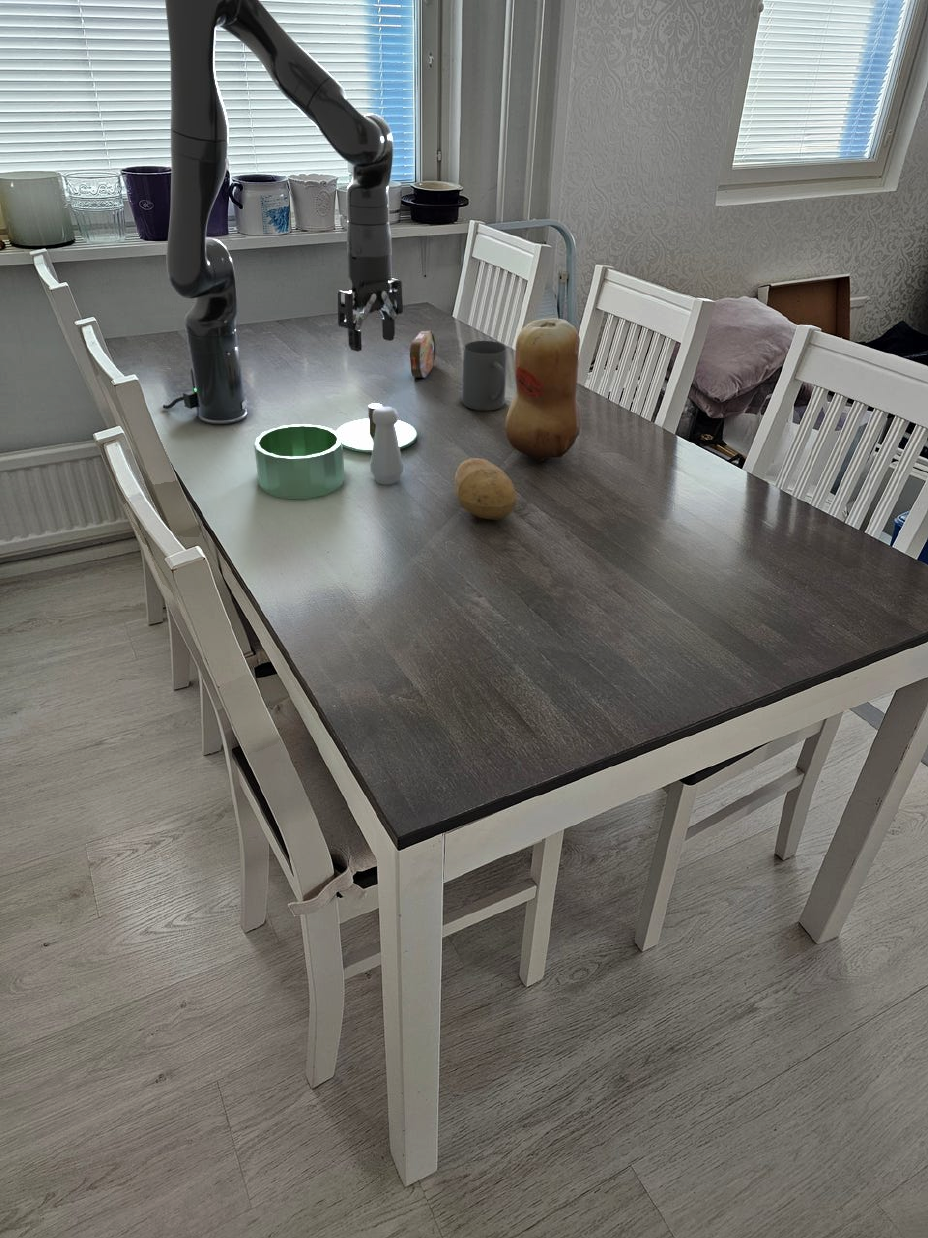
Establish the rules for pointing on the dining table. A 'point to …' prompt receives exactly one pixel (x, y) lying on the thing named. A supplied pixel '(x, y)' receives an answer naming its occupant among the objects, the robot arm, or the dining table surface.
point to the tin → (422, 354)
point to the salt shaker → (386, 447)
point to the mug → (484, 375)
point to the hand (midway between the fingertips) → (372, 344)
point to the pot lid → (372, 433)
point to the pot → (299, 461)
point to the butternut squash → (545, 390)
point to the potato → (484, 489)
